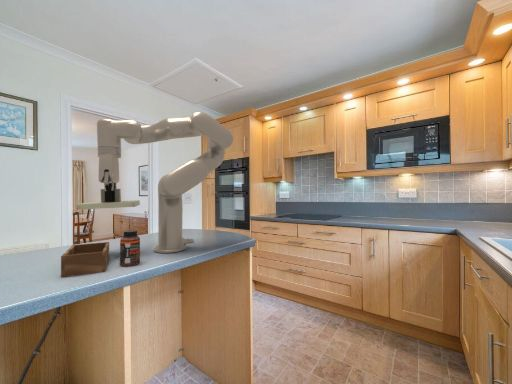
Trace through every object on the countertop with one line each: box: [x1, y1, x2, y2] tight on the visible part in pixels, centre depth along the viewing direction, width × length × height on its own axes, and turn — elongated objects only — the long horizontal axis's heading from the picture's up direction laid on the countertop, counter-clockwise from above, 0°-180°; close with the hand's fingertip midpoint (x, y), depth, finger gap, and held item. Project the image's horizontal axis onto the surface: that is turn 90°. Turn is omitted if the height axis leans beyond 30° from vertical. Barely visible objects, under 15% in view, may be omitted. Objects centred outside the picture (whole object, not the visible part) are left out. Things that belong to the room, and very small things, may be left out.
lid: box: [76, 188, 141, 210], centre depth 89 cm, size 18×13×7 cm
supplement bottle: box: [119, 229, 141, 267], centre depth 79 cm, size 6×6×11 cm
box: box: [60, 241, 110, 278], centre depth 76 cm, size 16×11×6 cm
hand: (111, 201), depth 89 cm, fingers closed on lid, 2 cm apart
